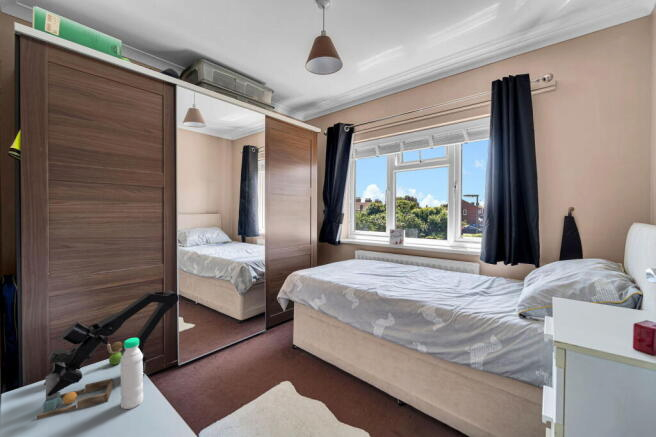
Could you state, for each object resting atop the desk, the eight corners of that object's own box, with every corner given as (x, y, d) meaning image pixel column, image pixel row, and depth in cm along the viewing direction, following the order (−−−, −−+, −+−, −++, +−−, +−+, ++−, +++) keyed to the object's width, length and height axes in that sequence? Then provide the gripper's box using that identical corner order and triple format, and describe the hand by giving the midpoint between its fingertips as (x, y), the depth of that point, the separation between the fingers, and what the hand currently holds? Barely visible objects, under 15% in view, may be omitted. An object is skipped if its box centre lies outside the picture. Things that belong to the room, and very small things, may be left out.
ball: (78, 397, 108) (78, 388, 108) (75, 404, 105) (74, 394, 105) (64, 401, 107) (64, 391, 106) (60, 407, 103) (60, 397, 103)
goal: (113, 385, 117) (113, 378, 116) (107, 401, 107) (107, 393, 107) (49, 400, 107) (49, 392, 107) (36, 419, 97) (36, 411, 97)
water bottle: (131, 411, 102) (131, 345, 101) (116, 408, 103) (115, 343, 102) (147, 398, 109) (147, 336, 108) (132, 395, 110) (132, 334, 109)
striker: (60, 399, 107) (60, 370, 106) (54, 409, 101) (54, 379, 101) (49, 402, 105) (49, 372, 105) (42, 412, 100) (42, 381, 99)
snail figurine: (104, 365, 130) (103, 341, 130) (119, 359, 136) (119, 335, 135) (110, 369, 127) (109, 343, 127) (125, 362, 133) (125, 338, 133)
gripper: (61, 333, 111) (21, 372, 103) (69, 349, 100) (25, 394, 91) (87, 345, 118) (51, 382, 110) (98, 361, 106) (58, 404, 98)
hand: (46, 390), depth 102 cm, fingers open, 9 cm apart
